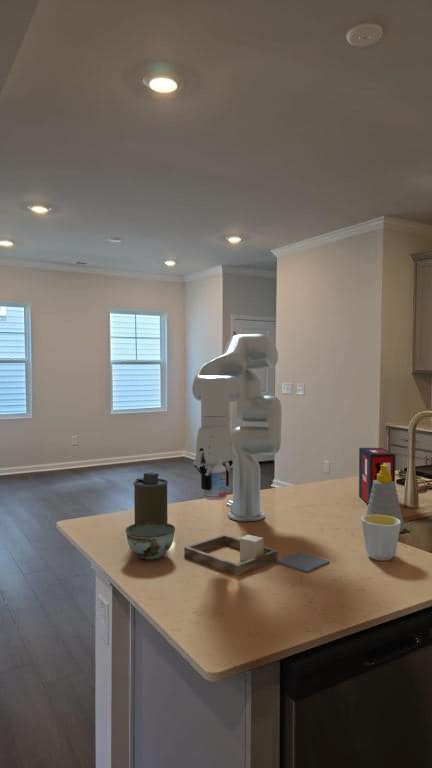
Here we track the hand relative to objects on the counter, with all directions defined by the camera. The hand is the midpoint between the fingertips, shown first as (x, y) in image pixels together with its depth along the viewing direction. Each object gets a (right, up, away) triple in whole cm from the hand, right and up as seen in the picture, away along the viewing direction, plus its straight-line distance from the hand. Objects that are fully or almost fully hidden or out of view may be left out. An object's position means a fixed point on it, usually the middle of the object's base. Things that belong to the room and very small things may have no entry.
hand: (215, 486), depth 146 cm
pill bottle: (0, -3, 0) cm, 3 cm away
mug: (+46, -19, +1) cm, 50 cm away
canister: (-20, -19, +16) cm, 32 cm away
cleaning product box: (+62, -18, +59) cm, 87 cm away
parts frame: (+4, -19, -1) cm, 20 cm away
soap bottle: (+55, -19, +26) cm, 63 cm away
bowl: (-18, -19, 0) cm, 26 cm away
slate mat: (+23, -19, -5) cm, 31 cm away
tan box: (+10, -19, -3) cm, 22 cm away
